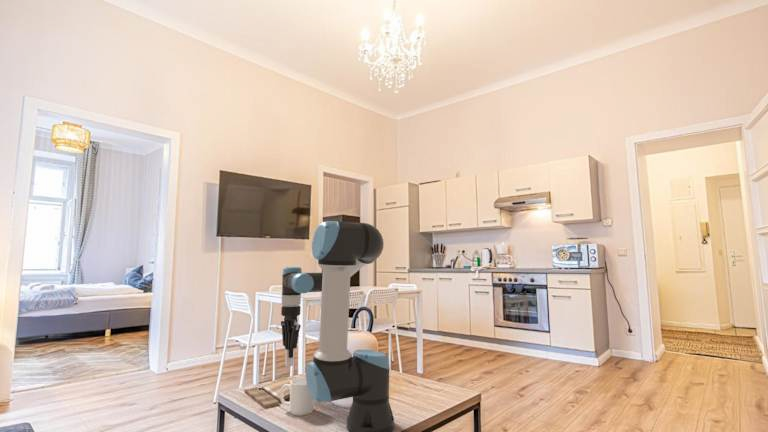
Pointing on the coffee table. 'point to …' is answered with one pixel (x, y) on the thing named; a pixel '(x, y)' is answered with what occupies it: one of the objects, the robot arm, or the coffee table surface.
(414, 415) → the coffee table surface
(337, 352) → the robot arm
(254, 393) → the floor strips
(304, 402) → the cup
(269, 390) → the plank
